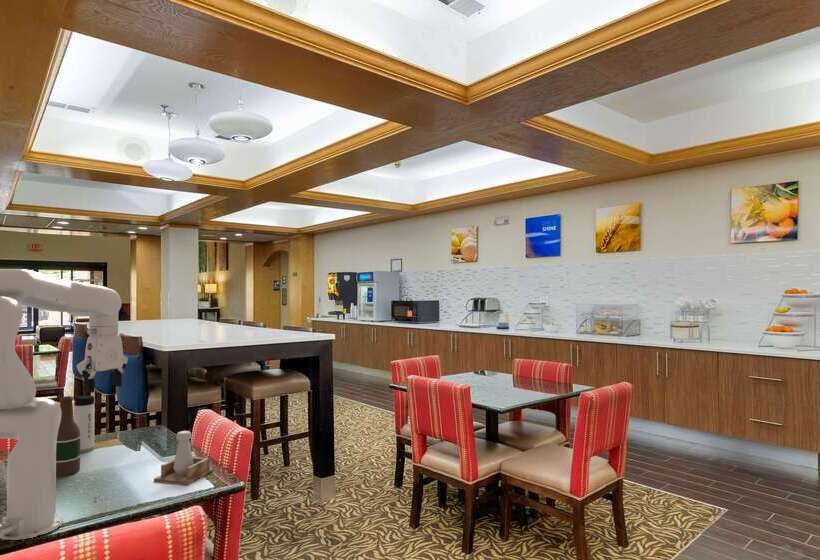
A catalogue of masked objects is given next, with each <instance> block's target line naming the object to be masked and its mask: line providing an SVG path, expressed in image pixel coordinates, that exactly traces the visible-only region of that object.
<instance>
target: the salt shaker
mask: <svg viewBox="0 0 820 560" xmlns="http://www.w3.org/2000/svg"><path fill="white" fill-rule="evenodd" d="M175 438H176V441H178V443H177V448H176V451H175V458H174V459H175V461H174V466H173V469H174V471H175V473H176V475H177V476H186V472H187V467H189V466H191V465H193V464H194V463H193V457H194V456H193V453H192V448H191V447H192V446H191V442H190V439H192V432H191V431H189V430H182V431H178V432H177V434H176V436H175Z"/></svg>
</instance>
